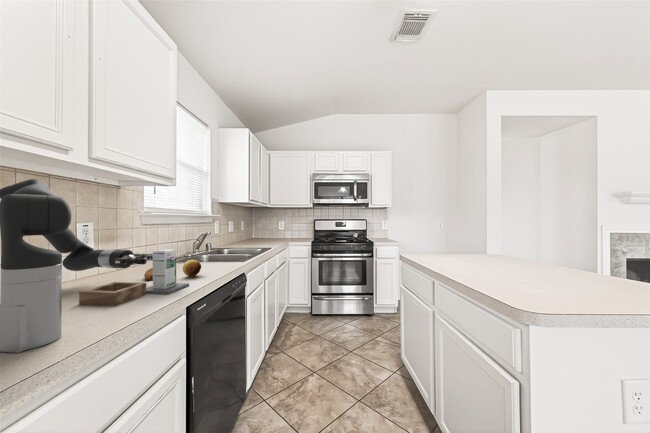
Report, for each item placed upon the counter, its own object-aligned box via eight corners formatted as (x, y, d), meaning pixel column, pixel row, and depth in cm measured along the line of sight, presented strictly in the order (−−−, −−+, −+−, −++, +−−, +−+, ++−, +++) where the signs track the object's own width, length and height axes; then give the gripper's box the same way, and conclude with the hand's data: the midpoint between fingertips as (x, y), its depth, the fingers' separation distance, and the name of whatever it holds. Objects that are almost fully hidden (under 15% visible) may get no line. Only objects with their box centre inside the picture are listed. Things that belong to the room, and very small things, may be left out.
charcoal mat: (169, 294, 96) (169, 291, 96) (139, 293, 98) (139, 290, 98) (189, 285, 108) (189, 283, 108) (162, 284, 109) (162, 282, 109)
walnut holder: (115, 305, 84) (115, 292, 84) (79, 304, 85) (79, 291, 85) (146, 293, 97) (146, 283, 97) (114, 292, 98) (114, 282, 98)
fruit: (203, 274, 129) (203, 258, 130) (196, 278, 121) (196, 261, 121) (187, 274, 129) (187, 258, 129) (179, 278, 121) (179, 261, 121)
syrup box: (165, 289, 99) (165, 250, 99) (152, 288, 100) (152, 250, 100) (176, 285, 105) (176, 249, 105) (163, 284, 106) (163, 248, 106)
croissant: (156, 281, 117) (156, 269, 117) (139, 282, 115) (139, 270, 115) (165, 274, 130) (165, 264, 130) (149, 275, 128) (149, 265, 128)
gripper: (99, 251, 98) (139, 252, 96) (131, 247, 112) (166, 247, 111) (99, 271, 98) (139, 272, 96) (131, 264, 112) (166, 265, 111)
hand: (154, 259), depth 104 cm, fingers open, 8 cm apart
